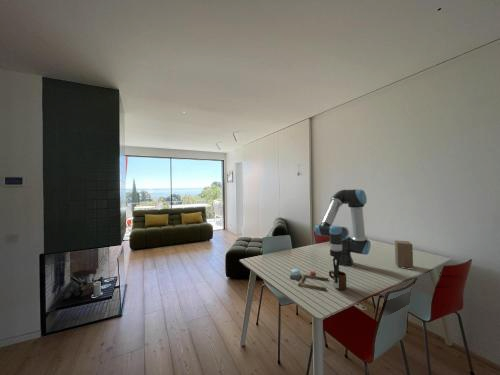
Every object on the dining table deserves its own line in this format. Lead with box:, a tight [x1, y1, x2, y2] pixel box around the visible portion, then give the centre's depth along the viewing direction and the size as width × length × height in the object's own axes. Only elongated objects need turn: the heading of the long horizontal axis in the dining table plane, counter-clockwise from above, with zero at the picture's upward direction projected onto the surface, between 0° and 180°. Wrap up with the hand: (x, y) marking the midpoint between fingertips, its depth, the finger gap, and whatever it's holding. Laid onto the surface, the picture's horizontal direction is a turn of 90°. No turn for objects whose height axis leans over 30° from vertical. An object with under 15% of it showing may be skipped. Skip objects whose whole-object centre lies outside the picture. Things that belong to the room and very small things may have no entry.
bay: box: [297, 273, 329, 292], centre depth 139 cm, size 17×18×2 cm
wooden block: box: [394, 239, 414, 269], centre depth 166 cm, size 10×10×20 cm
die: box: [309, 270, 317, 276], centre depth 150 cm, size 4×4×4 cm
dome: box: [291, 268, 301, 276], centre depth 148 cm, size 6×6×3 cm
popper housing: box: [289, 272, 303, 281], centre depth 148 cm, size 7×7×2 cm
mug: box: [328, 270, 347, 291], centre depth 133 cm, size 12×8×9 cm, turn 31°
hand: (336, 284), depth 132 cm, fingers closed on mug, 8 cm apart
